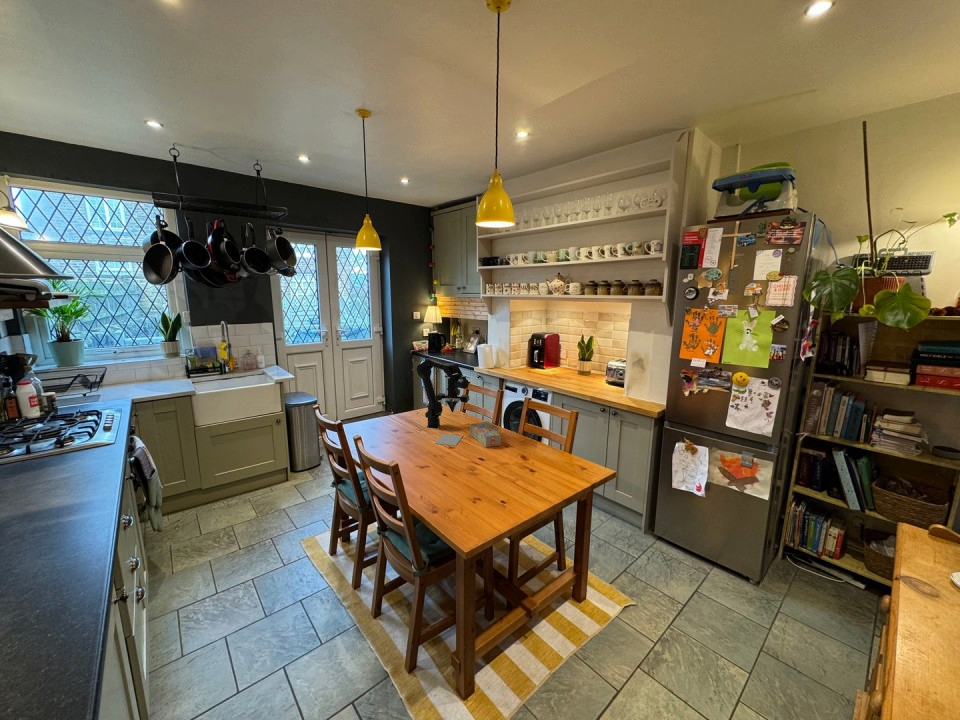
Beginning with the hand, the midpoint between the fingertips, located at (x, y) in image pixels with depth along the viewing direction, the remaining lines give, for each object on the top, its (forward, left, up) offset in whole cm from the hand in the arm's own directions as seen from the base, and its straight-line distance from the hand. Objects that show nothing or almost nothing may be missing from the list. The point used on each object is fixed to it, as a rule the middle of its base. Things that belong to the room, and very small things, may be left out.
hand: (452, 412), depth 223 cm
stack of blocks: (+16, -7, -10) cm, 20 cm away
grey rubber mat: (+1, -10, -13) cm, 16 cm away
